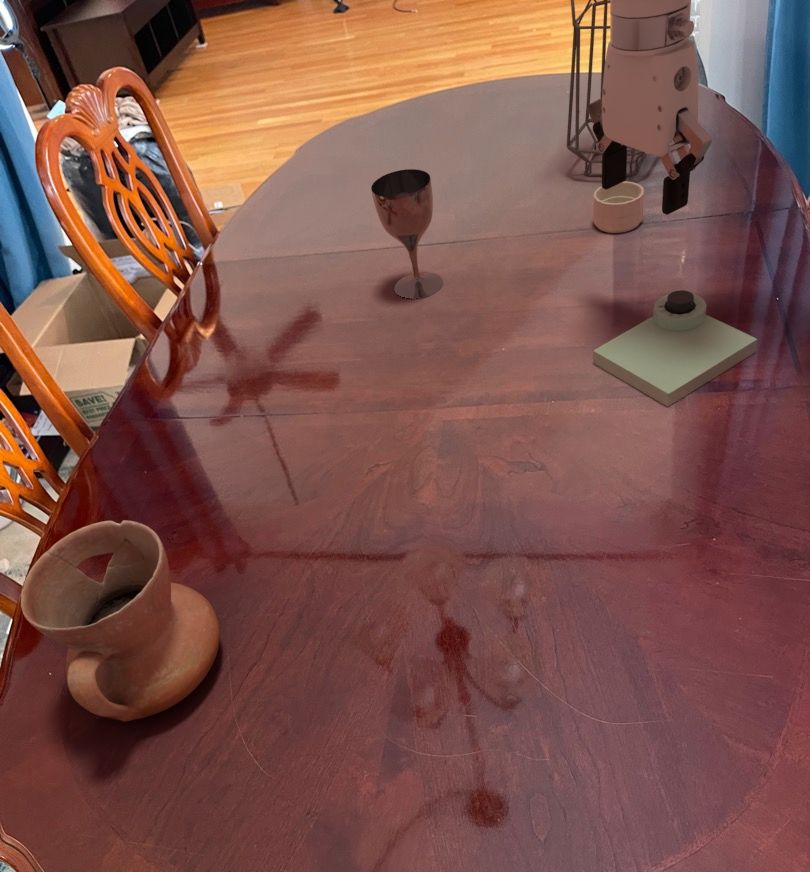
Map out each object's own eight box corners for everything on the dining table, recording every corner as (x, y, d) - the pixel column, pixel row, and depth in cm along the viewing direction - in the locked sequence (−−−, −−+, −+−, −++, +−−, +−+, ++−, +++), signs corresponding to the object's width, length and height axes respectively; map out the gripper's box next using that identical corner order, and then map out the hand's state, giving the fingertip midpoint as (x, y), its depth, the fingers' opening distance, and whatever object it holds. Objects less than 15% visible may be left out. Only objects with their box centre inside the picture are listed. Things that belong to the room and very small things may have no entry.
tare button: (679, 298, 99) (680, 287, 98) (698, 307, 97) (699, 296, 96) (661, 309, 98) (662, 297, 97) (680, 318, 97) (681, 306, 95)
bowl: (618, 206, 124) (619, 177, 120) (652, 220, 119) (654, 189, 116) (583, 224, 122) (583, 195, 118) (617, 239, 117) (617, 209, 114)
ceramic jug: (115, 599, 85) (50, 503, 75) (246, 594, 83) (197, 494, 72) (50, 756, 73) (-38, 669, 63) (201, 757, 71) (134, 665, 60)
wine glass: (421, 265, 121) (404, 164, 111) (457, 281, 117) (443, 177, 106) (380, 289, 119) (359, 188, 108) (415, 306, 114) (396, 202, 103)
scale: (676, 311, 103) (679, 286, 100) (758, 350, 95) (762, 325, 92) (590, 362, 99) (590, 337, 96) (667, 407, 91) (669, 382, 88)
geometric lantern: (584, 143, 140) (582, -110, 115) (677, 145, 134) (697, -123, 109) (554, 185, 132) (544, -79, 106) (652, 189, 125) (667, -91, 100)
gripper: (746, 27, 75) (726, 206, 88) (618, 3, 87) (616, 164, 99) (685, 54, 73) (673, 233, 86) (562, 26, 85) (568, 188, 97)
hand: (643, 196), depth 92 cm, fingers open, 9 cm apart
